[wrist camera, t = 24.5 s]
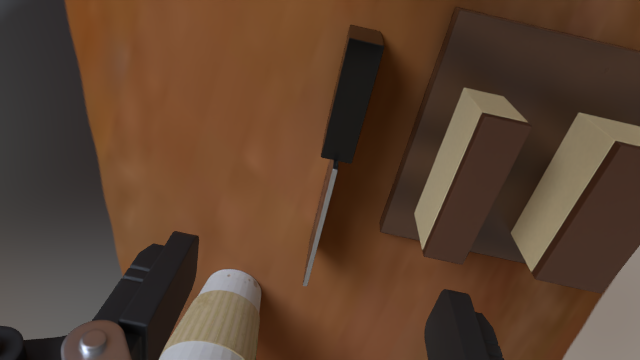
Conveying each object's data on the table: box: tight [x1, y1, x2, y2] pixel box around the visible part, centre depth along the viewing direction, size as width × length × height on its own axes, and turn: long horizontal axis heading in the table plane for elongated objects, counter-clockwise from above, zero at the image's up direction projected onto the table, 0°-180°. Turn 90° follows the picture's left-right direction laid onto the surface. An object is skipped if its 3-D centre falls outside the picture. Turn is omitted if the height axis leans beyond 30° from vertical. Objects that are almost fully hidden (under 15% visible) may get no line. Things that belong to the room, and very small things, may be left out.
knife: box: [303, 25, 384, 286], centre depth 34 cm, size 21×2×6 cm, turn 168°
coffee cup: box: [159, 269, 261, 360], centre depth 40 cm, size 10×10×15 cm
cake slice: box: [414, 88, 532, 265], centre depth 32 cm, size 12×3×6 cm, turn 168°
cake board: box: [380, 7, 640, 264], centre depth 35 cm, size 20×18×2 cm
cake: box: [511, 113, 640, 293], centre depth 32 cm, size 12×6×6 cm, turn 168°
